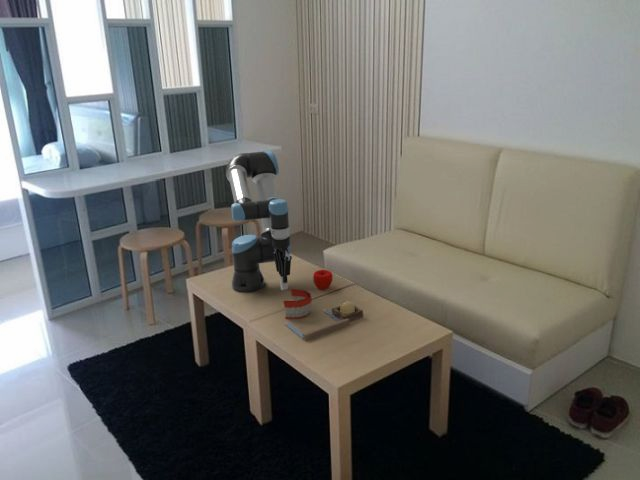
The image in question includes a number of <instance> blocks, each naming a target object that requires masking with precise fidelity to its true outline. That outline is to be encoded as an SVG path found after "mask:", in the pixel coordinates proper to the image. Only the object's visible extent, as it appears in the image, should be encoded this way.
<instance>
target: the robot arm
mask: <svg viewBox="0 0 640 480" xmlns="http://www.w3.org/2000/svg"><path fill="white" fill-rule="evenodd" d="M279 171H280V169H279V163H278V159H277V157H276V154H275V153H274V151H271V150H269V151H268V150H267V151H265V150H263V151H257V152H256V151H255V152H254V151H253V152H243V153H242V152H241V153H238V154H236V155H235V156H233V157H232V158H231V159H230V160H229V161H228V163H227V165H226V168H225V177H226V178H227V179H226V180H227V181H228V182H229V184H230V189H231V193H232V197H233V202H234V203H232V204H231V206H230V208H231V217H232V220H233V222H244V221H251V220H252V221H253V220H260V219H261V225H262V226H261V227H262V231H261V233H260V237H258V236H257V235H255V234H245V235H241V236H239V237H236V238H235V239H233V241H232V244H231V253H232V259H233V260H232V261H233V275H232V280H231V287H232V289H233V290H234V291H237V292H240V293H241V292H242V293H249V292H254V291H257V290H260V289H262V288H263V287H265V284H266V282H265V278H264V275H263V273H262V271H261V268H260V264H267V263H275V264H274V265H275V269H276V273H278V275H279V281H280V290H282V291H285V290H288V289H289V286H288V285H289V283H288V281H289V280H288V276H290V275H291V265H292V263H291V262H292V258H293V257H292V255H291V236H290V234H291V233H290V223H289V207H288V202H287V200H285V199H283V198H280V199H279V198H277V192H276V187H275V180H276V179H277V176H278V175H279V174H280V173H279ZM247 178H251V179H252V180H251V181H252V183H254V184H256V185H255V186H256V190H257V191H256V192H257V198H258V200H256V201H253V200H252V196H251V192H250V187H249V185H248V181H247Z"/></svg>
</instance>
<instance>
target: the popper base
mask: <svg viewBox="0 0 640 480" xmlns="http://www.w3.org/2000/svg"><path fill="white" fill-rule="evenodd" d="M340 306H341V305H339V306H336V307H333V308H331V312H332V315H334V316H335V317H337V318H338V319H340V320H343V319H346V318H347V319H349V323H351V322H355V321H357V320H359V319H362V318H364V310H363V309H362V308H360V307H358V306H356V305H354V307H355V312H353V313H350V314H347V315H345V314H343V313H342V312H340Z"/></svg>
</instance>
